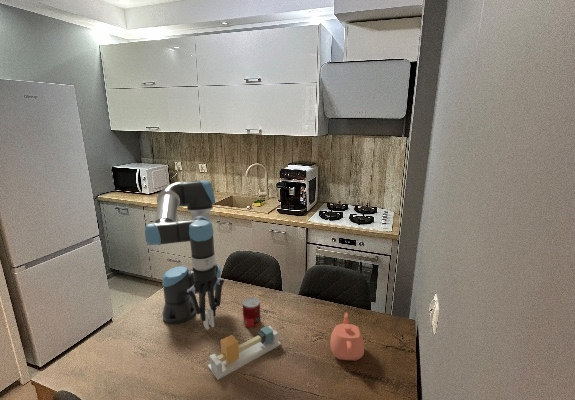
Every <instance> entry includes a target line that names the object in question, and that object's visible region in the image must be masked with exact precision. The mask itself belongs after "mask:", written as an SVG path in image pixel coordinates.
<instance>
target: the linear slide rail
mask: <svg viewBox="0 0 575 400" xmlns="http://www.w3.org/2000/svg"><path fill="white" fill-rule="evenodd" d="M281 344H282V343H281V342H280V340H279V332H278V331H277V330H275V329H274V328H273V326H271V325H265V326H264V327H262V328H260V329H259V331H258V332H257V335H256V336H253V337H252V338H250V339H249V340H246V341H245V342H242V343H240V344H238V346H239V359H237V360H235V361H233V362H231V363H230V364H228V365H227V363H226V356H225V354H224V353H223V354H221V353H220V354H219V355H217V354H216V353H212V354H211V355H209V364H208V365H207V367H208V369H209V370H210V371H211V373H212V374H213V376H214V378H215V379H216V380H221V379H223V378H224V377H225V376H227V375H229V374H231V373H233V372H235V371H236V370H238V369H240V368H243V366H246V365H247V364H249V363H251V362H253V361H254V360H256V359H258V358H260V357H261V356H263V355H265V354H266V353H268V352H270V351H273V350H274V349H276V348H277V347H279V346H281Z"/></svg>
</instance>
